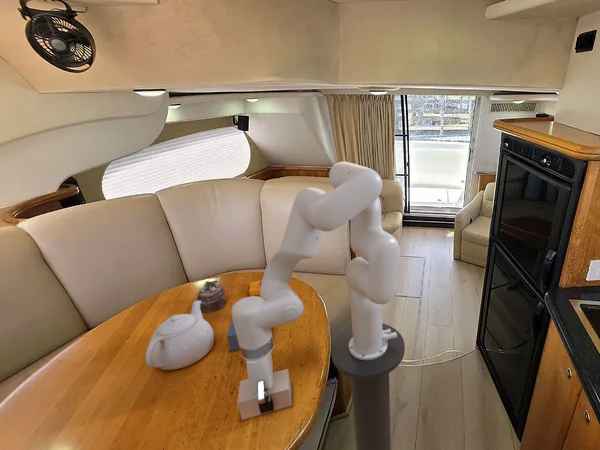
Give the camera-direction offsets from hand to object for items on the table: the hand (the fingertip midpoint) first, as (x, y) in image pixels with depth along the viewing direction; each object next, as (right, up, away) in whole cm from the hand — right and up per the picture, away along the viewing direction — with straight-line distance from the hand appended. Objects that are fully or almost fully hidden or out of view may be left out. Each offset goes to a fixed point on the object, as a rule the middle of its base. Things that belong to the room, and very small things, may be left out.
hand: (268, 395), depth 83 cm
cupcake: (-39, +13, +40) cm, 57 cm away
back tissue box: (-15, +7, +22) cm, 28 cm away
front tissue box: (0, -2, +1) cm, 2 cm away
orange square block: (-25, +18, +51) cm, 59 cm away
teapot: (-34, +4, +17) cm, 38 cm away
